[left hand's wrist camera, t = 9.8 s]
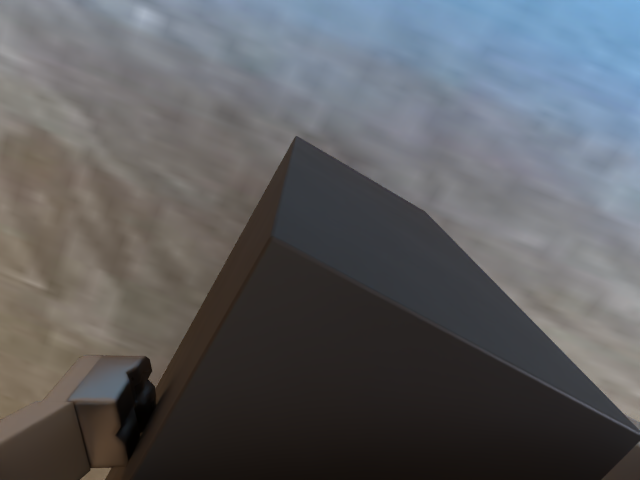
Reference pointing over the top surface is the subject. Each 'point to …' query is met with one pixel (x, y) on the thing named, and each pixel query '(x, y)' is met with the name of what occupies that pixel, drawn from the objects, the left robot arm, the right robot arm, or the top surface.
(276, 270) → the box
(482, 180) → the top surface
